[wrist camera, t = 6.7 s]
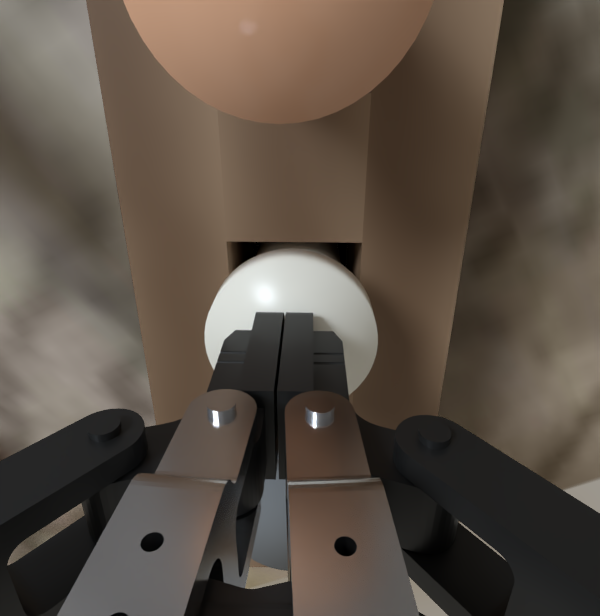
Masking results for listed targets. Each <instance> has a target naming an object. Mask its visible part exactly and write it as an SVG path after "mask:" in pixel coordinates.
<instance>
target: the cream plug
mask: <svg viewBox="0 0 600 616" xmlns="http://www.w3.org/2000/svg"><path fill="white" fill-rule="evenodd" d="M256 312H284V324H285V315H286V312H300V313H313V331H333V332H334V333H335V334H336V335H337V336H338V337H339V338H340V339H341V340H342V342H343V350H344V359H345V367H346V376H347V384H348V393H349V395H350V394H351V393H352V392H353V391H354V390H356V389H357V388H358V387H359V385H360V384H361V383H362V382H363V381H364V379H365V378H366V376H367V375H368V373H369V372H370V370H371V368H372V365H373V363H374V360H375V357H376V353H377V346H378V333H377V326H376V321H375V317H374V313H373V309H372V306H371V303H370V299H369V297H368V295H367V293H366V291H365V289H364V287H363V286H362V284H361V283H360V281H359V280H358V279H357V278H356V277H355V276H354V274H353V273H352V272H350V271H349V270H348V269H347V268H346V267H345V266H343V265H342V264H341V262H340V255H339V249H338V244H337V242H260V245H259V248H258V251H257V254H256V256H255V257H253V258H251V259H249V260H247V261H246V262H244V263H242V264H241V265H239V266H238V267H237V268H236V269H235V270H234V271H232V272H231V274H230V275H229V276H228V277H227V278H226V279H225V281H224V282H223V284H222V285H221V287H220V289H219V291H218V293H217V295H216V297H215V300H214V302H213V304H212V306H211V308H210V311H209V313H208V316H207V320H206V324H205V332H204V335H205V347H206V352H207V355H208V358H209V361H210V364H211V366H212V368H213V370H214V369H215V366H216V363H217V360H218V357H219V354H220V351H221V348H222V345H223V342H224V340H225V339H226V338H227V337H228V336H229V335H230V334H231V333H233V332H234V331H235V330H252V326H253V322H254V318H255V314H256Z"/></svg>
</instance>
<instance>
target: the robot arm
mask: <svg viewBox="0 0 600 616" xmlns="http://www.w3.org/2000/svg"><path fill="white" fill-rule="evenodd" d="M278 460H279V479H283V480H286V528H287V560H288V582H284V583H280V584H275V585H272V586H267V587H262V588H258V589H245V585H246V580H247V576H248V571H249V566H250V561H251V556H252V552H253V547H254V542H255V537H256V533H257V528H258V523H259V518H260V514H261V498H262V495H263V491H264V482H265V479H274V480H276V472H277V461H278ZM80 503H82V507H83V510H84V514H85V516H83V517H82V518H80V519H79V520H77V521H76V522H74V523H73V524H71V525H70V526H68V527H67V528H65V529H64V530H62V531H61V532H59V533H58V534H56V535H55V536H53V537H52V538H50V539H49V540H47V541H46V542H44V543H43V544H41V545H40V546H38V547H37V548H35V549H34V550H32V551H31V552H29V553H28V554H26V555H25V556H23V557H22V558H20V559H19V560H17V561H16V562H14V563H13V564H10V565H8V566H7V563H8V560H9V557H10V555H11V554H12V552H13V551H14V549H15V548H16V547H17V546H18V545H19V544H20V543H21V542H22V541H24V540H25V539H26V538H28V537H29V536H31V535H32V534H34V533H35V532H37V531H39V530H40V529H42V528H43V527H45V526H46V525H48V524H49V523H51V522H52V521H54V520H56V519H57V518H59V517H60V516H62V515H63V514H65V513H66V512H68V511H69V510H71V509H73V508H74V507H76V506H77V505H79V504H80ZM458 521H460V522H462V523H463V524H464V525H465V526H467V527H468V528H469V529H470V530H472V531H473V532H474V533H475V534H477V535H478V536H479V537H480V538H482V539H483V540H484V541H485V542H487V543H488V544H489V545H490V546H492V547H493V548H494V549H495V550H497V551H498V552H499V553H500V554H501V555H502V556H503V557H504V558H505V560H504V559H503V558H502V557H500V556H499V555H498V554H497V553H496V552H494V551H493V550H492V549H490V548H489V547H488V546H487V545H486V544H484V543H483V542H482V541H481V540H479V539H478V538H477V537H476V536H474V535H473V534H472V533H471V532H469V531H468V530H467V529H466V528H464V527H463V526H462V525H461V524H460V523H458ZM409 577H410V578H411V579H412V580H413V581H414V582H415V583H416V584H417V585H418V586H419V587H420V588H421V589H422V590H423V591H424V592H425V593H426V594H427V595H428V596H429V597H430V598H431V599H432V600H433V601H434V602H435V603H436V604H437V605H438V606H439V607H440V608H441V609H442V610H443V611H444V612H445V613H446V614H447V615H449V616H600V513H598V512H596V511H595V510H593V509H592V508H590V507H589V506H587V505H585V504H584V503H582V502H581V501H579V500H577V499H576V498H574V497H573V496H571V495H569V494H568V493H566V492H565V491H563V490H561V489H560V488H558V487H557V486H555V485H553V484H552V483H550V482H549V481H547V480H545V479H544V478H542V477H541V476H539V475H538V474H536V473H534V472H533V471H531V470H530V469H528V468H526V467H525V466H523V465H522V464H520V463H518V462H517V461H515V460H514V459H512V458H510V457H509V456H507V455H506V454H504V453H502V452H501V451H499V450H498V449H496V448H494V447H493V446H491V445H490V444H488V443H487V442H485V441H483V440H482V439H480V438H479V437H477V436H475V435H474V434H472V433H471V432H469V431H467V430H466V429H464V428H463V427H461V426H459V425H458V424H456V423H454V422H452V421H450V420H448V419H445V418H442V417H438V416H433V415H417V416H412V417H409V418H407V419H405V420H403V421H402V422H401V423H400V424H399V425H398V427H397V428H396V430H393V429H389V428H385V427H381V426H378V425H375V424H372V423H370V422H368V421H366V420H364V419H363V418H361V417H360V416H359V415H358V414H356V413H355V410H354V407H353V405H352V404H351V403H350V401H349V393H348V384H347V376H346V367H345V359H344V350H343V342H342V340H341V339H340V338H339V337H338V336H337V335H336V334H335V333H334V332H333V331H313V313H300V312H286V315H285V324H284V312H256V314H255V318H254V322H253V326H252V330H235V331H234V332H233V333H231V334H230V335H229V336H228V337H227V338H226V339H225V340H224V342H223V345H222V348H221V351H220V354H219V357H218V360H217V363H216V366H215V369H214V372H213V375H212V377H211V380H210V383H209V386H208V389H207V392H206V393H204V394H202V395H200V396H198V397H197V398H196V399H194V400H193V401H192V402H191V403H190V404H189V406H188V408H187V410H186V412H185V414H184V416H183V418H182V419H179V420H176V421H173V422H169V423H165V424H160V425H155V426H150V427H145V425H144V421H143V419H142V417H141V416H140V415H139V414H137V413H136V412H134V411H131V410H127V409H108V410H103V411H99V412H96V413H93V414H91V415H89V416H86V417H84V418H83V419H81V420H79V421H77V422H75V423H73V424H71V425H69V426H67V427H65V428H63V429H61V430H59V431H58V432H56V433H54V434H52V435H50V436H48V437H46V438H44V439H42V440H40V441H38V442H36V443H34V444H32V445H31V446H29V447H27V448H25V449H23V450H21V451H19V452H17V453H15V454H13V455H11V456H9V457H7V458H6V459H4V460H2V461H0V616H425V615H423V614H421V613H420V612H418V610H417V606H416V602H415V598H414V595H413V591H412V587H411V584H410V580H409Z"/></svg>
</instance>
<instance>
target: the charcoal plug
mask: <svg viewBox="0 0 600 616" xmlns="http://www.w3.org/2000/svg"><path fill="white" fill-rule="evenodd" d="M251 559H253V560H254V561H256V562H258V563H260V564H262V565H265V566H268V567H271V568H275V569H280V570H286V571H288V560H287V528H286V480H283V479H279V460H278V461H277V472H276V480H274V479H265V482H264V491H263V495H262V498H261V514H260V518H259V523H258V528H257V533H256V537H255V542H254V547H253V552H252V556H251Z"/></svg>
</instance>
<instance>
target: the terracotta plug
mask: <svg viewBox="0 0 600 616" xmlns="http://www.w3.org/2000/svg"><path fill="white" fill-rule="evenodd" d="M123 1H124V4H125V6H126V9H127V11H128V13H129V16H130V18H131V20H132V22H133V24H134V25H135V27H136V29H137V31H138V33H139V34H140V36H141V38H142V40H143V41H144V43H145V44H146V46H147V47H148V48H149V50H150V51H151V53H152V54H153V56H154V57H155V58H156V60H157V61H158V62H159V63H160V64H161V65H162V66H163V68H164V69H165V70H166V71H167V72H168V73H169V74H170V75H171V76H172V77H173V78H174V79H175V80H176V81H177V82H178V83H179V84H180V85H182V86H183V87H184V88H185V89H186V90H187V91H189V92H190V93H192V94H193V95H194V96H196V97H197V98H199V99H200V100H202V101H203V102H204V103H206V104H208V105H210V106H212V107H214V108H216V109H218V110H220V111H222V112H224V113H227V114H230V115H232V116H235V117H238V118H241V119H245V120H250V121H254V122H259V123H270V124H289V123H300V122H305V121H310V120H315V119H319V118H322V117H324V116H327V115H330V114H333V113H335V112H338V111H340V110H341V109H343V108H345V107H347V106H349V105H351V104H353V103H355V102H356V101H358V100H359V99H360V98H362V97H363V96H365V95H366V94H368V93H369V92H370V91H372V90H373V89H374V88H375V87H376V86H377V85H378V84H379V83H381V82H382V81H383V80H384V79H385V78H386V77H387V76H388V75H389V74H390V73H391V72H392V70H393V69H394V68H395V67H396V66H397V65H398V63H399V62H400V61H401V60H402V59H403V57H404V56H405V54H406V53H407V51H408V50H409V48H410V47H411V45H412V44H413V43H414V41H415V40H416V38H417V36H418V34H419V32H420V30H421V28H422V26H423V24H424V22H425V20H426V19H427V16H428V14H429V11H430V9H431V6H432V4H433V1H434V0H123Z"/></svg>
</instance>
